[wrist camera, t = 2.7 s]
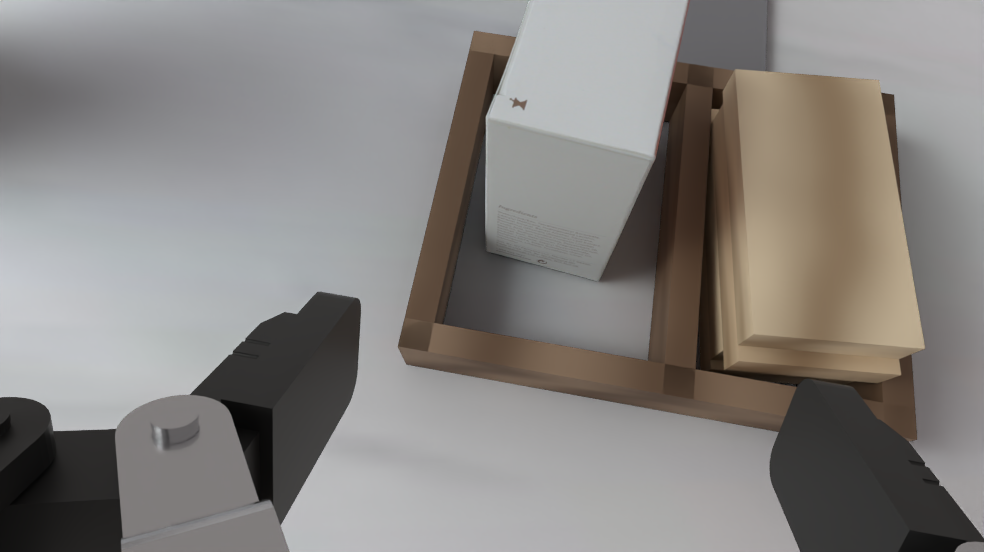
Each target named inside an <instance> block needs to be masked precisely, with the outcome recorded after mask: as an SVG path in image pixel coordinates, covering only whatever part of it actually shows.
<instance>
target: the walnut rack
mask: <svg viewBox="0 0 984 552" xmlns="http://www.w3.org/2000/svg"><path fill="white" fill-rule="evenodd" d="M515 40H516V37H511V36H505V35H498V34H492V33H485V32H478V31H474V33H473V38H472V42H471V46H470V50H469V54H468V58H467V62H466V66H465V71H464V75H463V79H462V83H461V87H460V91H459V95H458V100H457V104H456V108H455V112H454V116H453V120H452V124H451V129H450V133H449V137H448V141H447V145H446V149H445V153H444V157H443V162H442V166H441V170H440V174H439V178H438V182H437V186H436V191H435V195H434V199H433V203H432V207H431V211H430V215H429V220H428V224H427V228H426V232H425V236H424V240H423V244H422V248H421V253H420V257H419V261H418V265H417V269H416V273H415V277H414V282H413V286H412V290H411V294H410V298H409V302H408V306H407V310H406V315H405V319H404V323H403V327H402V331H401V335H400V339H399V344H398V348H399V350H400V352H401V354H402V356H403V358H404V360H405V363H406V364H407V365H413V366H418V367H424V368H429V369H435V370H440V371H446V372H451V373H457V374H462V375H468V376H473V377H479V378H484V379H490V380H495V381H501V382H506V383H512V384H517V385H523V386H528V387H534V388H539V389H545V390H551V391H556V392H562V393H567V394H573V395H578V396H584V397H589V398H595V399H600V400H606V401H611V402H617V403H622V404H628V405H633V406H639V407H644V408H650V409H655V410H661V411H666V412H672V413H677V414H683V415H689V416H694V417H700V418H705V419H711V420H716V421H722V422H727V423H733V424H738V425H744V426H749V427H755V428H760V429H766V430H771V431H777V432H779V431H780V428H781V426H782V423H783V421H784V418H785V416H786V413H787V411H788V408H789V405H790V403H791V400H792V398H793V395H794V393H795V390H796V388H797V387H793V386H787V385H782V384H776V383H770V382H765V381H759V380H753V379H748V378H742V377H736V376H731V375H725V374H719V373H714V372H708V371H703V370H697V369H696V353H697V336H698V320H699V304H700V288H701V272H702V255H703V239H704V223H705V207H706V190H707V174H708V158H709V142H710V126H711V109H720V108H721V106H722V104H723V90H724V88H725V86H726V85H727V83H728V81H729V79H730V77H731V76H732V74H733V72H734V70H728V69H721V68H715V67H708V66H702V65H695V64H688V63H682V62H677V63H676V67H675V72H674V77H673V81H672V86H671V91H670V95H669V100H668V104H667V109H666V113H665V118H664V121H668V122H669V133H668V144H667V155H666V166H665V177H664V188H663V199H662V210H661V221H660V232H659V243H658V255H657V266H656V277H655V288H654V299H653V310H652V321H651V332H650V343H649V354H648V361H646V360H641V359H635V358H629V357H624V356H618V355H612V354H607V353H601V352H595V351H590V350H584V349H578V348H573V347H567V346H562V345H556V344H550V343H545V342H539V341H533V340H528V339H522V338H516V337H511V336H505V335H499V334H494V333H488V332H483V331H477V330H471V329H466V328H460V327H454V326H449V325H443V322H444V318H445V313H446V309H447V304H448V299H449V295H450V290H451V286H452V281H453V276H454V272H455V267H456V263H457V258H458V253H459V249H460V244H461V240H462V235H463V230H464V226H465V221H466V217H467V212H468V207H469V203H470V198H471V194H472V189H473V184H474V180H475V175H476V171H477V166H478V161H479V157H480V152H481V148H482V143H483V138H484V134H485V129H486V115H487V113H488V110H489V108H490V106H491V102H492V97H493V94H496V92H497V89H498V87H499V84H500V81H501V79H502V76H503V74H504V71H505V68H506V65H507V63H508V60H509V57H510V54H511V51H512V48H513V46H514V43H515ZM881 95H882V101H883V106H884V112H885V118H886V124H887V130H888V136H889V141H890V147H891V153H892V159H893V165H894V170H895V176H896V182H897V188H898V194H899V199H900V205H901V192H900V177H899V163H898V148H897V133H896V118H895V103H894V95H892V94H885V93H881ZM901 211H902V207H901ZM899 363H900V370H901V375H900V376H897V377H894V378H892V379H889V380H886V381H883V382H880V383H867V382H856V381H855V382H852V383H850V384H847V386H851V387H853V388H854V389H855V390H856V391H857V392H858V394H859V395H860V396H861V398H862V399H863V400H864V402H865V403H866V404H867V406H868V407H869V408H870V410H871V411H872V412H873V414H874V415H875V416H876V418H877V419H880V420H882V421H883V422H884V423H886V424H887V425H888V426H889V427H891V428H892V429H893V430H895V431H896V432H897V433H898V434H900V435H901V436H902V437H903V438H905V439H906V440H907V441H913V440H917V430H916V415H915V400H914V386H913V371H912V356H911V355H908V356H906V357H903V358H901V359H899Z"/></svg>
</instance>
